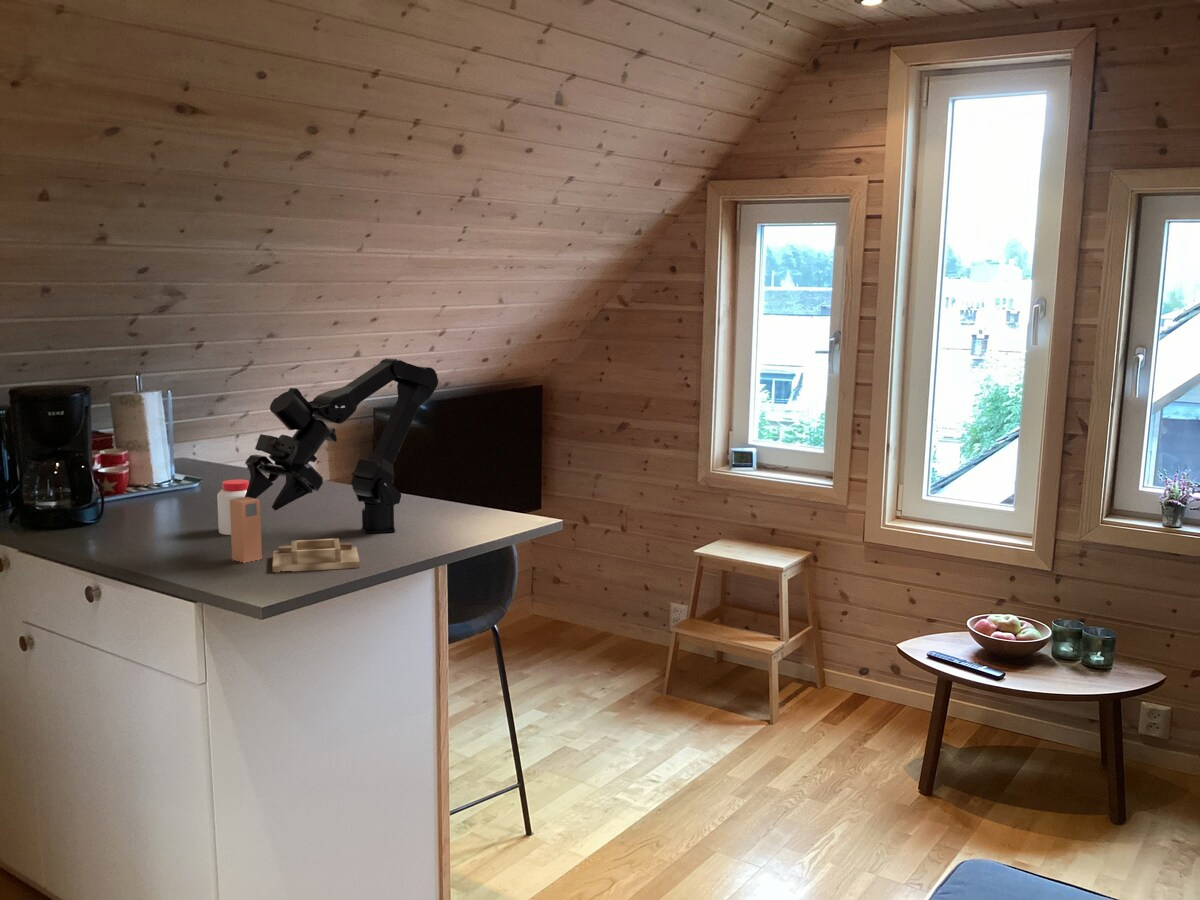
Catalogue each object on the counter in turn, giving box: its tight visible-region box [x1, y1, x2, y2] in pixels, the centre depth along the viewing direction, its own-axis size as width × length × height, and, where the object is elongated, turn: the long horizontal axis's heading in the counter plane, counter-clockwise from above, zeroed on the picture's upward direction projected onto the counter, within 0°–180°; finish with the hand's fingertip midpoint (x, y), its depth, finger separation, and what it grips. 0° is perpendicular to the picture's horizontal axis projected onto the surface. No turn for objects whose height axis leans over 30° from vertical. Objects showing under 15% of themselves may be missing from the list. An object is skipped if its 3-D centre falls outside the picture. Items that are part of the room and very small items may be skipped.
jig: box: [272, 537, 361, 573], centre depth 208 cm, size 16×12×4 cm
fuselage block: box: [230, 497, 263, 564], centre depth 209 cm, size 4×4×12 cm
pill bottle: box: [216, 478, 250, 536], centre depth 233 cm, size 8×8×11 cm
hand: (259, 505), depth 211 cm, fingers open, 9 cm apart
